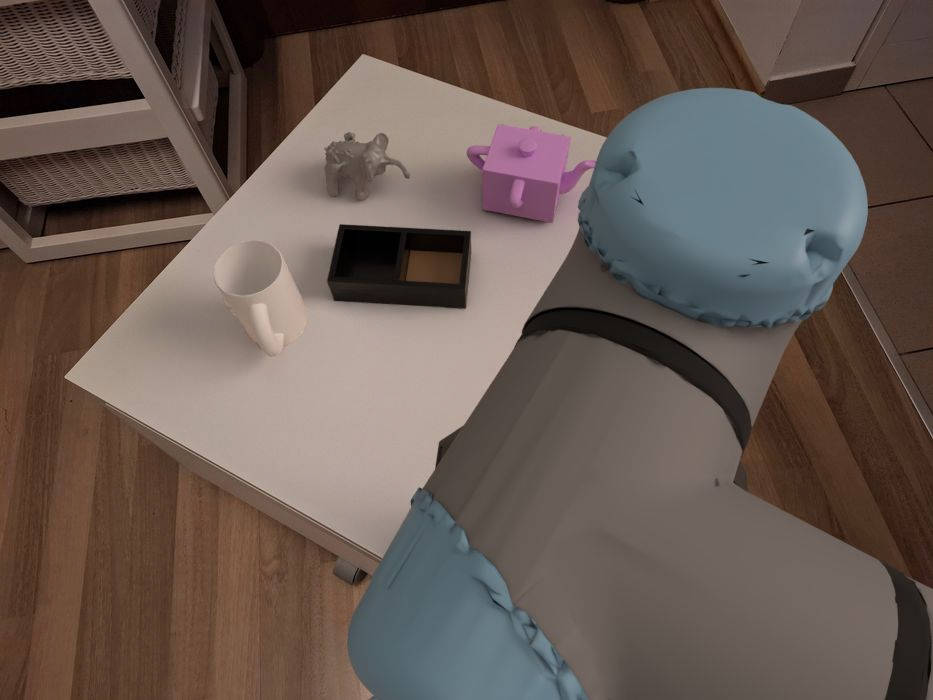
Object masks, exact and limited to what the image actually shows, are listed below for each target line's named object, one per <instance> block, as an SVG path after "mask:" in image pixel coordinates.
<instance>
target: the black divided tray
mask: <svg viewBox="0 0 933 700" xmlns="http://www.w3.org/2000/svg"><path fill="white" fill-rule="evenodd" d="M334 243H335V244H334V246H333V247H334V248H333V252H332V256H331V262H330V266H329V269H328V274H327V280H326V283H327V286H328V287H329V290H330V293H331V296H332V298H333V301H334V302H347V303H363V304H364V303H365V304H381V305H394V306H395V305H396V306H397V305H398V306H414V307H428V308H429V307H431V308H449V309H463V310H464V309H467V303H468V302H467V301H468V293H469V291H468V290H469V282H470V281H469V280H470V270H471V263H472V262H471V261H472V231H471V230H460V229H458V230H457V229H442V228H441V229H439V228H419V227H402V226H401V227H400V226H383V225H380V226H379V225H363V224H361V225H360V224H345V223H344V224H343V223H340V224H339V225H338V229H337V233H336V239H335V242H334Z"/></svg>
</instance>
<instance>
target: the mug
mask: <svg viewBox="0 0 933 700" xmlns="http://www.w3.org/2000/svg"><path fill="white" fill-rule="evenodd" d="M213 281H214V283H215V285H216V286H215V287H217V289H218V290H219V292H220V294H221V296H222V297H223V301H224V303H225V305H226V306H227V307H228V308H229V311H230V312H231V314H232V316H233V317H234V318H237V319H238V321H239V322H240V324H241V325H242V327H243V328H244V331H246V333H247V334H248V336H249V338H251V340H252V341H254V343H257V344H258V345H259V348H260V350H261V351H262V352H263V353H264V354H265V355H267V356H269V357H277V356H279V355H280V354H281V352H282V351H283V349H284V346H287V345H289V344H291V343H293V342H294V341H296V340H297V339H298V338H300V336H301V335H303V333H304V331H305V329H306V327H307V325H308V320H309V312H308V309H307V305H306V304H305V302H304V299H303V297H302V295H301V294H300V291H299V289H298V287H297V285H296V282H295V280H294V278H293V276H292V273H291V271H290V269H289V267H288V265H287V263H286V261H285V259H284V256H283V255H282V253H281V251H280V250H279V249H278V247H276V246H275V245H273V244H272V243H270V242H267V241H265V240H260V239H249V240H248V239H247V240H243V241H239V242H237V243H235V244H232V245H231V246H229V247H228V248H226V249H225V250H224V251H223V252H222V253H221V254H220V255H219V256H218V258H217V260H216V262H215V264H214V267H213Z"/></svg>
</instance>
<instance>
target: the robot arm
mask: <svg viewBox="0 0 933 700" xmlns="http://www.w3.org/2000/svg"><path fill="white" fill-rule="evenodd" d="M595 161H596V164H595V167H594V168H593V171H592V174H591V177H590V180H589V184H588V186H587V187H586V188H585V189H584V190H583V191H582V193H581V195H580V198H579V200H578V204H577V208H578V210H579V212H578V214H577V215H578V216H577V223H578V231H577V234H576V236H575V239H574V241H573V243H572V245H571V247H570V249H569V250H568V251H569V252H568V253H567V255H566V257H565V259H564V260H563V262H562V264H561V265H560V266H559V268H558V270H557V272H556V273H555V275H553V278H552V279H551V281H550V282H549V284H548V285H547V288H546V289H545V290H544V292H543V294H542V295H541V297H540V298H539V300H538V302H537V303H536V305H535V306H534V308H533V310H532V311H531V313H530V314H529V316H528V318H527V319H526V321H525V322H524V324H523V326H522V329H521V335H520V336H519V338H518V340H516V342H515V344H514V346H513V349H512V350H511V352H510V354H509V355H508V357H507V358H506V359H505V361H504V363H503V365H502V366H501V368H500V369H499V371H498V372H497V373H496V375H495V377H494V378H493V379H492V381H491V383H490V384H489V386H488V388H487V389H486V390H485V392H484V394H483V395H482V397H481V398H480V400H479V401H478V403H477V405H476V406H475V407H474V409H473V410H472V412H471V414H470V415H469V416H468V418H467V420H466V421H465V422H464V424H463V425H462V426H460V427H458V428H457V429H456V430H454V431H453V432H451V433H450V434H448V435H447V436H445V437H444V438H442V439H441V440H439V441H438V445H437V452H436V458H435V467H434V470H433V471H432V473H431V475H430V476H429V478H428V479H427V481H426V482H425V484H424V486H423V487H419V486H418V488H417V490H416V491H415V493H414V494H413V495H412V497H411V499H410V508H409V510H408V512H407V514H406V515H405V517H404V519H403V521H402V523H401V525H400V526H399V528H398V529H397V531H396V533H395V534H394V536H393V538H392V540H391V542H390V544H389V546H388V547H387V549H386V550H385V552H384V554H383V556H382V558H381V559H380V561H379V563H378V565H377V566H376V568H375V570H374V572H373V574H372V576H371V578H370V582H369V584H368V586H367V587H366V589H365V591H364V593H363V595H362V597H361V598H360V600H359V602H358V604H357V605H356V607H355V609H354V612H353V613H352V616H351V619H350V622H349V626H348V629H347V642H346V648H347V655H348V659H349V662H350V665H351V667H352V669H353V671H354V674H355V675H356V677H357V679H358V680H359V682H361V684H362V685H363V687H365V688H366V690H367V691H368V692H370V694H371V695H372V696H370V697H369V698H368V699H367V700H933V588H931V587H929V586H928V585H925V584H923V583H921V582H919V581H917V580H915V579H913V578H911V577H909V576H907V575H906V574H904V572H903V571H901V570H899V569H897V568H895V567H894V566H892V565H890V564H888V563H886V562H884V561H882V560H880V559H878V558H876V557H874V556H872V555H869V554H867V553H866V552H864V551H862V550H860V549H858V548H857V547H855V546H852V545H850V544H848V543H846V542H845V541H843V540H841V539H839V538H837V537H835V536H833V535H831V534H829V533H827V532H826V531H823V530H822V529H820V528H818V527H816V526H814V525H812V524H810V523H808V522H806V521H804V520H802V519H800V518H798V517H796V516H794V515H793V514H791V513H789V512H787V511H785V510H783V509H781V508H779V507H777V506H776V505H773V504H772V503H769V502H767V501H765V500H764V499H762V498H760V497H759V496H756V495H754V494H752V493H750V492H749V490H748V479H747V472H746V469H745V466H744V465H743V462H742V460H741V459H742V457H743V456H744V453H745V451H746V448H747V446H748V443H749V440H750V437H751V434H752V429H753V427H754V424H755V422H756V420H757V417H758V415H759V412H760V410H761V407H762V405H763V403H764V401H765V398H766V396H767V393H768V391H769V388H770V386H771V383H772V381H773V378H774V376H775V374H776V372H777V369H778V366H779V364H780V362H781V359H782V357H783V355H784V353H785V351H786V348H787V346H788V344H789V343H790V341H791V339H792V338H793V336H794V334H795V333H796V331H797V329H798V328H799V326H800V324H802V322H803V321H806V320H808V319H809V318H810V316H811V315H812V314H813V312H818V311H820V310H821V309H823V308H824V307H825V306H826V304H827V303H828V301H829V299H830V297H831V295H832V292H833V289H834V286H835V282H836V280H837V279H838V277H839V276H840V275H841V273H842V272H843V270H844V269H845V268H846V266H847V264H848V263H849V262H850V260H851V259H852V257H853V256H854V255H855V253H856V252H857V250H858V249H859V246H860V245H861V242H862V240H863V237H864V234H865V230H866V226H867V222H868V221H867V220H868V216H869V215H868V214H869V210H868V209H869V208H868V207H869V206H868V193H867V189H866V184H865V182H864V178H863V176H862V173H861V170H860V168H859V165H858V164H857V162H856V161H855V158H854V157H853V155H852V154H851V153H850V151H849V150H848V149H847V147H846V146H845V144H843V142H842V141H841V140H840V139H839V138H838V137H837V136H836V135H835V134H834V133H833V132H832V131H831V130H830V129H829V128H828V127H827V126H825V125H824V124H822V123H821V122H820V121H819V120H818V119H816V118H815V117H813V116H811V115H810V114H808V113H807V112H805V111H804V110H802V109H799V108H798V107H796V106H794V105H792V104H781V103H778V102H775V101H774V100H768V99H766V98H764V97H761V95H759V94H757V93H756V92H754V91H749V90H744V89H737V88H729V87H728V88H727V87H702V88H691V89H685V90H680V91H675V92H672V93H668V94H665V95H661V96H659V97H657V98H655V99H652V100H650V101H648V102H646V103H645V104H643V105H641V106H639V107H637V108H636V109H635V110H633V111H631V112H630V113H629V114H627V115H626V116H625V117H624V118H622V119H621V120H620V121H619V122H618V123H617V124H616V126H615V127H614V128H613V129H612V130H611V131H610V133H609V134H608V136H607V137H606V139H605V140H604V142H603V143H602V145H601V147H600V149H599V152H598V155H597V157H596V160H595Z"/></svg>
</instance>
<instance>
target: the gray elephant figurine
mask: <svg viewBox="0 0 933 700" xmlns="http://www.w3.org/2000/svg"><path fill="white" fill-rule="evenodd" d="M343 138H344V141H342V140H338V141H334V140H332V141H331V143H330V144H329V145H327V147H326V146H325V147H324V148H323V150H324V151H325V165H324V174H325V178H326V179H325V180H326V190H327V193H328V194H329V195H330V196H332V197H334V196H335V197H336V196H337V195H338V193H339V186H338V185H339V183H338V182H339V180H340V178H342V177H345V178H351V179H352V180H353V181H354V184H355V197H356V199H357V200H358V201H364V200H366V199H367V198H368V197H369V195H370V190H369V184H370V181H373V179H374V178H375V176H381V175H383V174H385V172H386V170H387V166H396V167H398V168H399V169H400V170H401V171H402V173H403V174H402V175H403V177H404V178H405V179H407V180H409V179H410V178H411V174H410V172H409V171H408V170H407V168H406V166H405V165H404V164H403V163H402V161H400V160H399V159H395V158H392V157H389V156H388V155H387V153H386V151H387V148H388V144H389V141H390V140H389V136H387V134H385V133H384V132H378V133H377V134H376V135H375V136H374V139H372V140H370V141H368V142H366V143H365V142H359V141H356V134H355V132H351V131H348V132H346V133H344V134H343Z"/></svg>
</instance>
